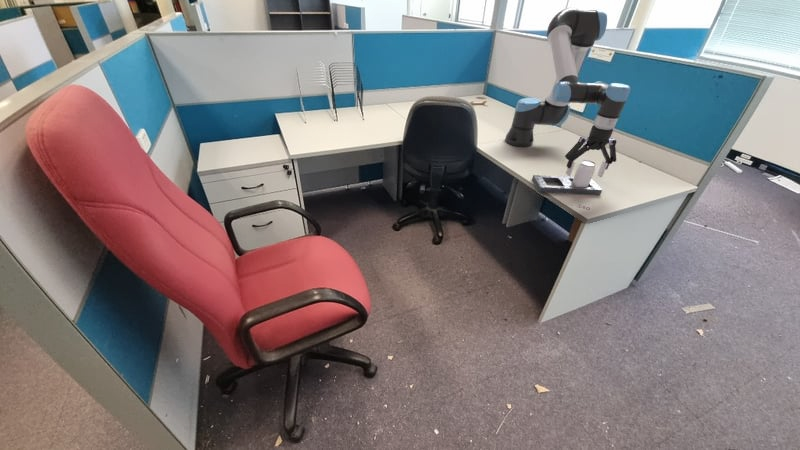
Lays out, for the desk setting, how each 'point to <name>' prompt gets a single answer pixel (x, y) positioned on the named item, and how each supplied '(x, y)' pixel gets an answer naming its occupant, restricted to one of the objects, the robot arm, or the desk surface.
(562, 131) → the desk surface
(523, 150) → the desk surface
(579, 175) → the can
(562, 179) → the holder
